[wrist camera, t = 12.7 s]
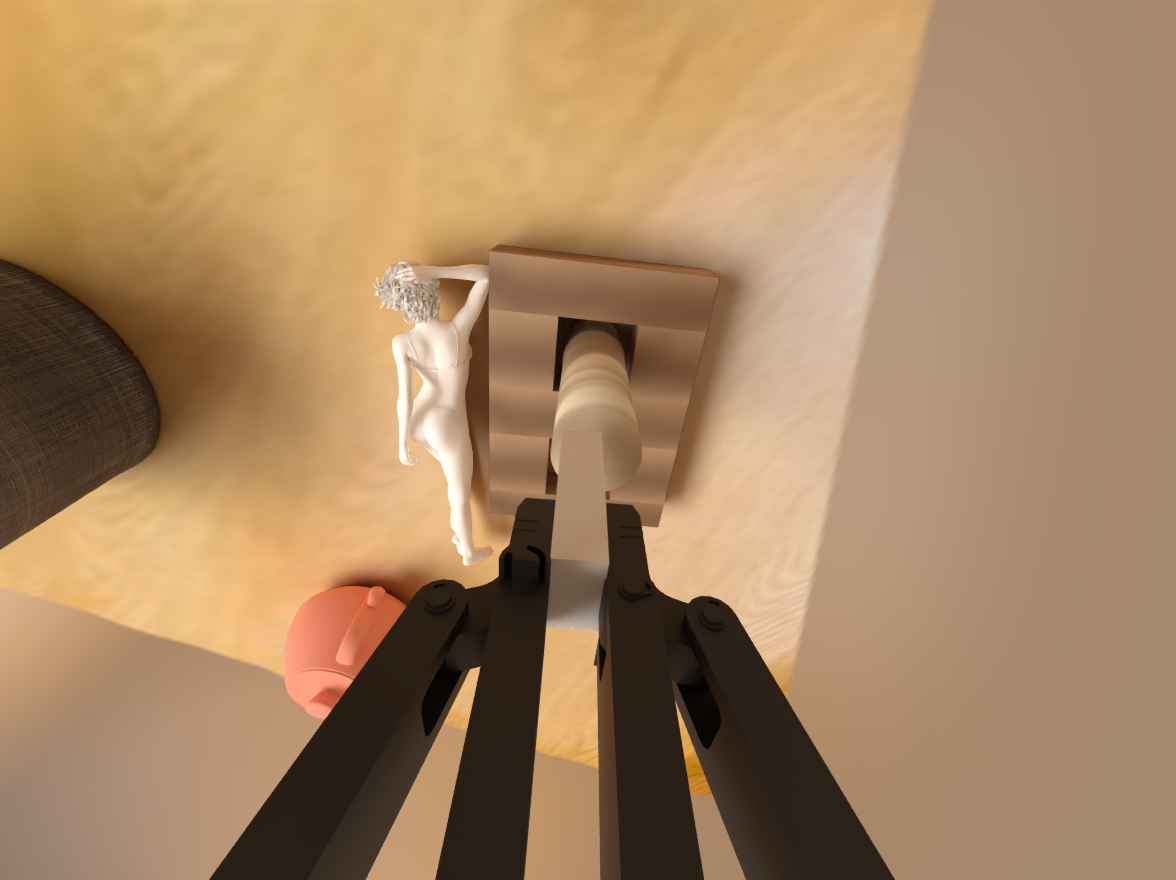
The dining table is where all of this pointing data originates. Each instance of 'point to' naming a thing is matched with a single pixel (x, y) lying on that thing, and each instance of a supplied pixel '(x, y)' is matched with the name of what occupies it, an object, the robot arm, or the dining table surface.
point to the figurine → (437, 379)
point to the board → (531, 387)
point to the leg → (598, 399)
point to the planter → (62, 403)
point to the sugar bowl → (335, 643)
